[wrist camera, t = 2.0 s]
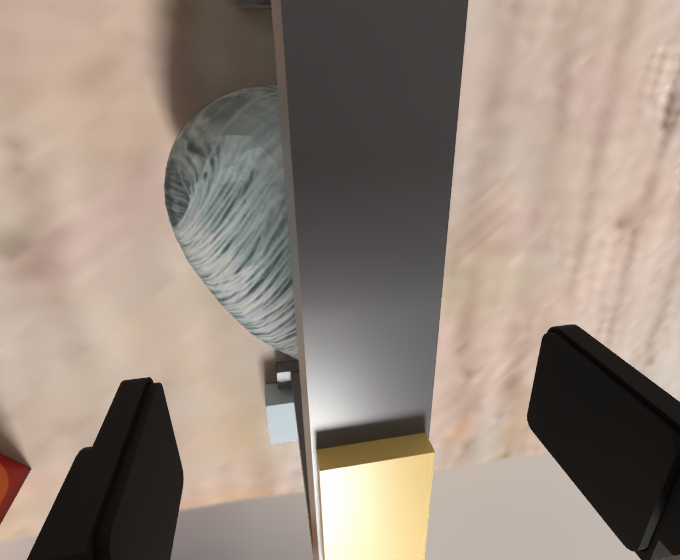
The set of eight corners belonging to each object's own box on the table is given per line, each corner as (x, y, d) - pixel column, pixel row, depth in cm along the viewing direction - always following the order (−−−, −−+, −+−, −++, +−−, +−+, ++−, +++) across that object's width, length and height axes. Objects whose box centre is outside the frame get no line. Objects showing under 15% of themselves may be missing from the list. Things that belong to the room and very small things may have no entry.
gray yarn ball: (71, 181, 17) (167, 232, 10) (236, 41, 20) (401, 4, 13) (263, 355, 26) (384, 446, 19) (358, 242, 29) (495, 285, 22)
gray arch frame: (234, -26, 18) (177, -344, 4) (339, -25, 19) (584, -296, 5) (277, 378, 27) (303, 694, 13) (347, 369, 28) (440, 660, 14)
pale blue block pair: (201, -132, 16) (195, -157, 15) (357, -125, 17) (370, -148, 15) (269, 421, 28) (270, 444, 26) (359, 408, 29) (366, 429, 27)
